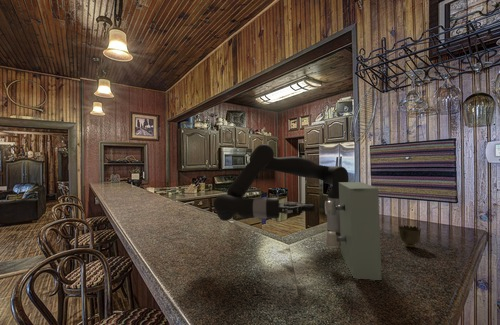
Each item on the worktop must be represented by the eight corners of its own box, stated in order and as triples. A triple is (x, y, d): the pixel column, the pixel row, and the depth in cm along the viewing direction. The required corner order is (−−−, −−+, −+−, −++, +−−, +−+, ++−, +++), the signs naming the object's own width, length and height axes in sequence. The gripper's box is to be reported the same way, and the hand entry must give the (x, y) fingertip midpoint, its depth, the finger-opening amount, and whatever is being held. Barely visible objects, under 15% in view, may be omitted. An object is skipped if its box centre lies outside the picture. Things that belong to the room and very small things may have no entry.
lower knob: (327, 248, 80) (327, 233, 80) (326, 243, 85) (325, 229, 85) (349, 249, 79) (349, 234, 79) (346, 243, 84) (345, 230, 84)
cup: (425, 250, 91) (424, 230, 91) (404, 250, 92) (403, 229, 92) (415, 243, 98) (415, 225, 98) (396, 243, 99) (395, 224, 99)
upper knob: (326, 216, 80) (326, 202, 80) (325, 213, 85) (324, 199, 85) (348, 216, 79) (347, 202, 79) (345, 213, 84) (344, 199, 84)
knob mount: (353, 279, 72) (349, 188, 71) (341, 253, 91) (338, 182, 91) (381, 280, 70) (378, 188, 70) (363, 254, 90) (360, 182, 89)
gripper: (263, 201, 80) (315, 200, 77) (268, 195, 93) (312, 194, 90) (264, 222, 80) (316, 223, 77) (268, 213, 93) (313, 214, 90)
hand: (314, 207), depth 83 cm, fingers closed
